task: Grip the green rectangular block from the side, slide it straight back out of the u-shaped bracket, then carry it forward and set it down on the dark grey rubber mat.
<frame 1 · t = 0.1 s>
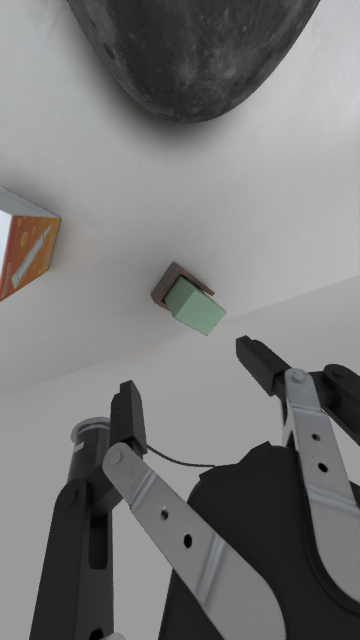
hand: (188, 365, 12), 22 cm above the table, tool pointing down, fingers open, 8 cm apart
small box: (29, 233, 23), on the table
u-shaped bracket: (181, 292, 34), on the table
green rectangular block: (190, 302, 30), in the u-shaped bracket
decorative sphere: (161, 24, 18), on the table
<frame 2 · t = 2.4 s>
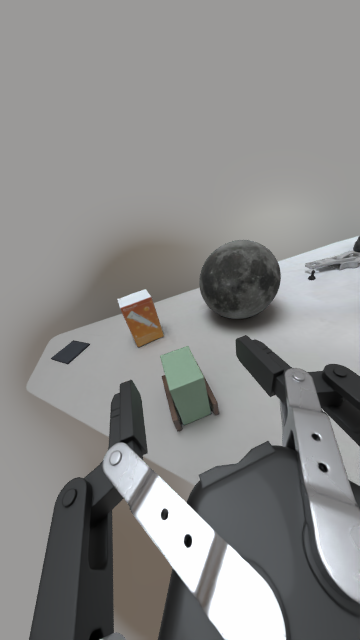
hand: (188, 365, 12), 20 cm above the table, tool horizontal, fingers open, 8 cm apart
small box: (149, 336, 50), on the table
rubber mat: (71, 351, 52), on the table
u-shaped bracket: (190, 401, 31), on the table
green rectangular block: (185, 385, 29), in the u-shaped bracket
zipper pull: (331, 268, 62), on the table
chess pawn: (311, 279, 58), on the table
decorative sphere: (237, 313, 51), on the table
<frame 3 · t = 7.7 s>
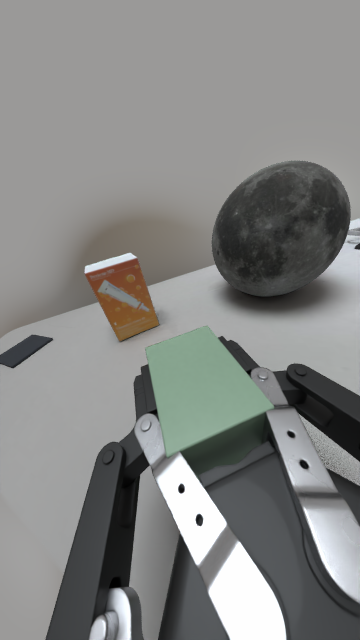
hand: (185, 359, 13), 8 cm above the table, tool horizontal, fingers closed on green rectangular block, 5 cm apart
small box: (137, 326, 34), on the table
rubber mat: (24, 349, 36), on the table
green rectangular block: (204, 413, 13), in the u-shaped bracket, touching gripper
chess pawn: (359, 248, 43), on the table
decorative sphere: (265, 291, 35), on the table
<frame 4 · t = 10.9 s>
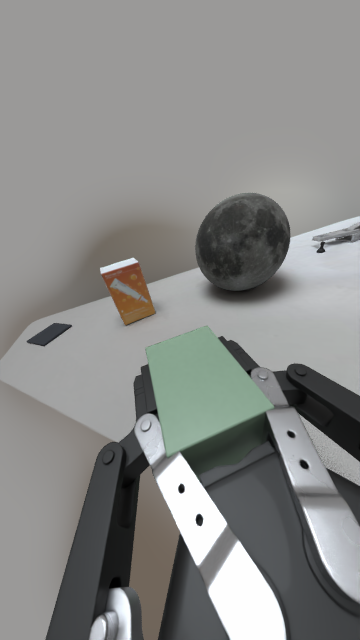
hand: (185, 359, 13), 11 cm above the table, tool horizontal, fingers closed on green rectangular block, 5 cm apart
small box: (138, 315, 44), on the table
rubber mat: (50, 333, 45), on the table
green rectangular block: (204, 413, 13), point 8 cm above the table, touching gripper
zipper pull: (341, 242, 56), on the table
chess pawn: (320, 252, 52), on the table
decorative sphere: (239, 287, 45), on the table
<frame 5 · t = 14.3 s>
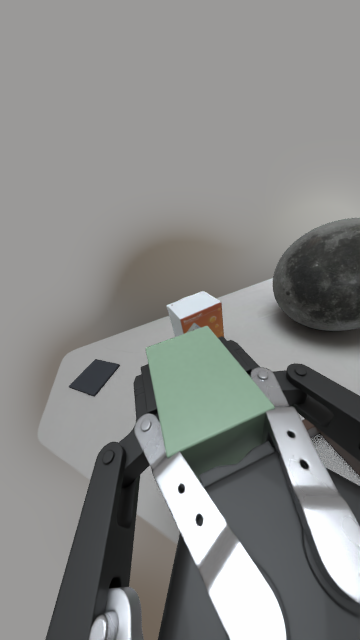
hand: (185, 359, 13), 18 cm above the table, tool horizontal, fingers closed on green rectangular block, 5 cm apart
small box: (202, 355, 37), on the table
rubber mat: (95, 376, 39), on the table
u-shaped bracket: (332, 482, 18), on the table
green rectangular block: (204, 413, 13), point 14 cm above the table, touching gripper
decorative sphere: (319, 321, 38), on the table
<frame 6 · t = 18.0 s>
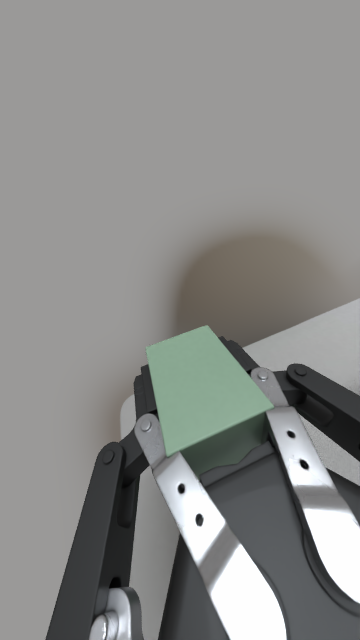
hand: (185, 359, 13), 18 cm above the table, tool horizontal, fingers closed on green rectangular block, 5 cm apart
green rectangular block: (204, 413, 13), point 14 cm above the table, touching gripper
when the fingers open (9 cm above the table, at t = 21.2 s): green rectangular block stays where it is, resting on rubber mat.
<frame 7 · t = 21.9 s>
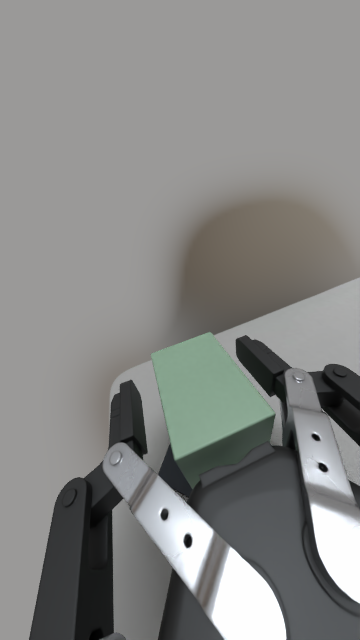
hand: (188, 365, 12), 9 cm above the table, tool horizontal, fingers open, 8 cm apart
rubber mat: (213, 446, 16), on the table
green rectangular block: (207, 417, 13), on the rubber mat
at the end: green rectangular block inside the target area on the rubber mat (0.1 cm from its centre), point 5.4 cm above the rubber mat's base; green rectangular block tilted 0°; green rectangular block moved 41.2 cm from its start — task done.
